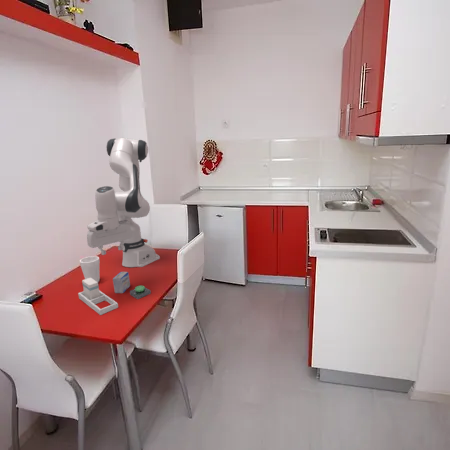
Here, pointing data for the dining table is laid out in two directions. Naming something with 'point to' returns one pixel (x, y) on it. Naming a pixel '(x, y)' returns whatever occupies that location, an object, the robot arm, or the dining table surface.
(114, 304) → the white rectangular tray
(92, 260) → the foam cup
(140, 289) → the button
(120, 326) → the dining table surface
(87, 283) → the seated billet
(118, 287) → the medicine box
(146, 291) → the grey button housing
